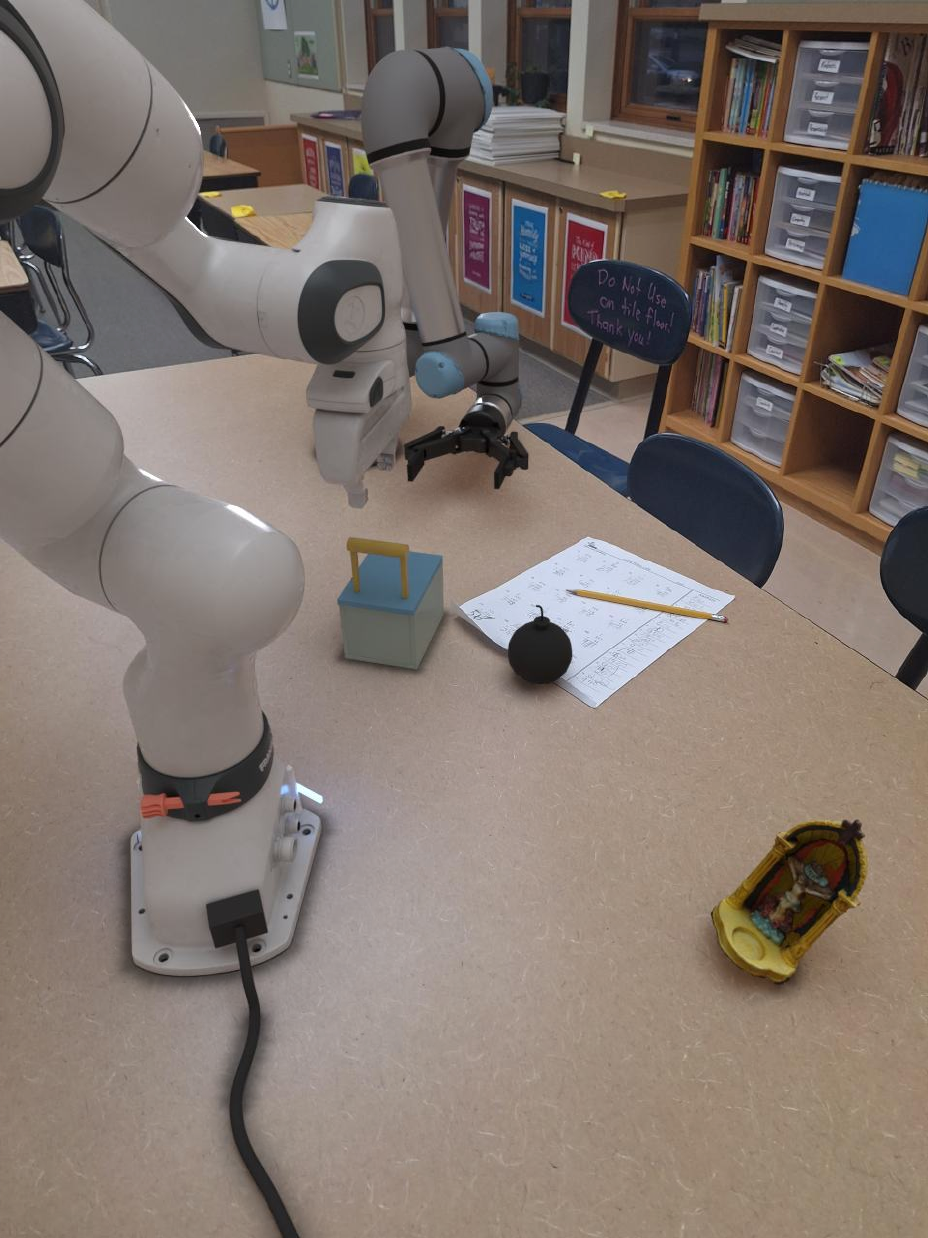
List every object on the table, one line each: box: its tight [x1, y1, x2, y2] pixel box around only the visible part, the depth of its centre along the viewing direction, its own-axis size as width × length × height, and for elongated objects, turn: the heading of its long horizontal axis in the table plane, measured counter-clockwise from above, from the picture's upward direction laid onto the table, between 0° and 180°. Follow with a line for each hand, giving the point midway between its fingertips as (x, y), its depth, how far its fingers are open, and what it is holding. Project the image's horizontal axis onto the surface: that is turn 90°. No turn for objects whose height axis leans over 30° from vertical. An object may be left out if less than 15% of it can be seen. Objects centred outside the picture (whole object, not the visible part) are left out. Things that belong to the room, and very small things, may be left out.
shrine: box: [710, 818, 868, 986], centre depth 72 cm, size 12×8×15 cm
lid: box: [336, 536, 444, 616], centre depth 107 cm, size 13×10×8 cm
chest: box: [338, 561, 445, 671], centre depth 113 cm, size 13×10×9 cm
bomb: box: [507, 604, 573, 686], centre depth 104 cm, size 8×8×12 cm
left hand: (373, 486), depth 98 cm, fingers open, 8 cm apart
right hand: (452, 477), depth 130 cm, fingers open, 13 cm apart
